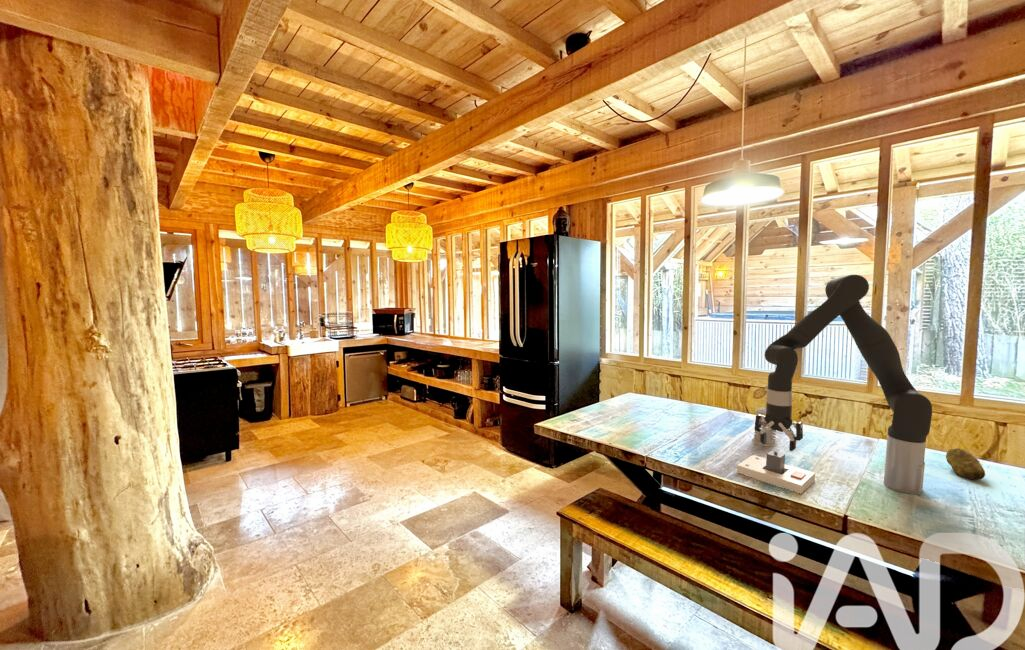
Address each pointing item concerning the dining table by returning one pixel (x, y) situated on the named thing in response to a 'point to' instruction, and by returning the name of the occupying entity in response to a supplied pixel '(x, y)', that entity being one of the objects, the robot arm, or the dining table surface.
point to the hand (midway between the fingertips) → (777, 447)
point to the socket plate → (790, 479)
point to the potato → (965, 464)
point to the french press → (770, 440)
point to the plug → (775, 462)
